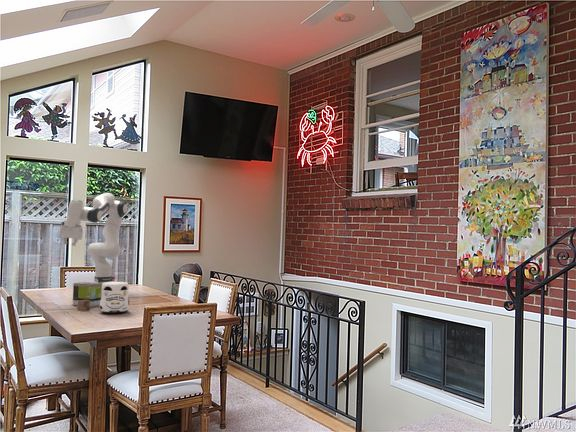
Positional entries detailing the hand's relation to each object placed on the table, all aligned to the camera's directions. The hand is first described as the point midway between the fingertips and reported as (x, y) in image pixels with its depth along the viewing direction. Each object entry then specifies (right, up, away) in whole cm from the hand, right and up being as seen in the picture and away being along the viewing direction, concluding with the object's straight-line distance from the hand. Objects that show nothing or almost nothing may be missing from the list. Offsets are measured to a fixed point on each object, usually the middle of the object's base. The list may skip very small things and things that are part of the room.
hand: (69, 245), depth 322 cm
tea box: (+11, -40, +2) cm, 41 cm away
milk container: (+37, -41, -20) cm, 58 cm away
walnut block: (+16, -40, -15) cm, 45 cm away
